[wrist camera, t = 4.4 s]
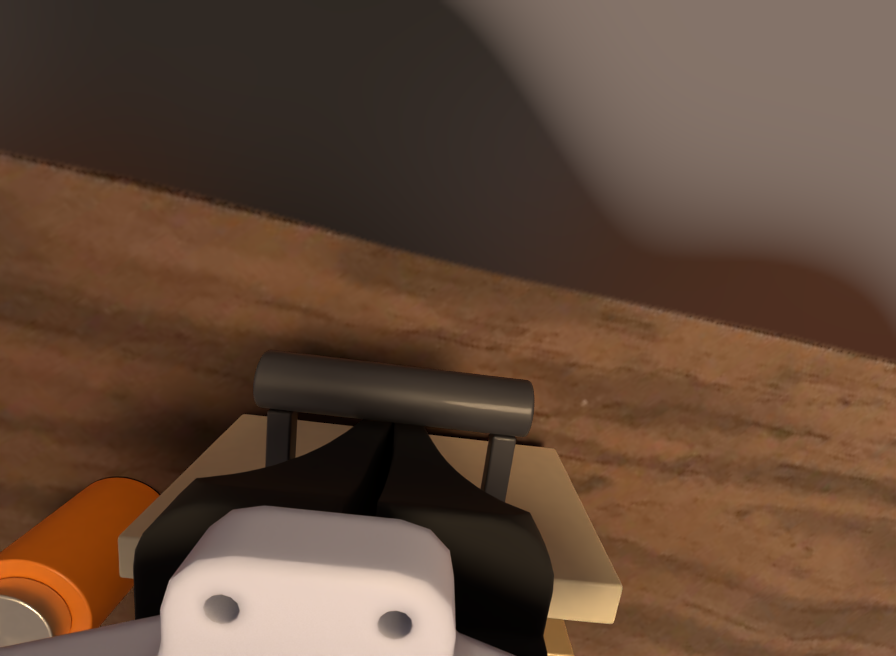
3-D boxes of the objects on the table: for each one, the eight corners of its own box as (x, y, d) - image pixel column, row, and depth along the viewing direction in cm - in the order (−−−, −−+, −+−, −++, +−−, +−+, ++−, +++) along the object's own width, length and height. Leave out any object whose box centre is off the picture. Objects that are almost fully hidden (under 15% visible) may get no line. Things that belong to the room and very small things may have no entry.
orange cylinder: (173, 482, 19) (67, 586, 14) (174, 565, 20) (76, 693, 15) (72, 471, 19) (-77, 573, 14) (78, 555, 20) (-58, 682, 14)
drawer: (245, 294, 16) (106, 347, 10) (578, 335, 17) (670, 413, 10) (236, 666, 20) (133, 891, 14) (505, 689, 21) (537, 916, 14)
